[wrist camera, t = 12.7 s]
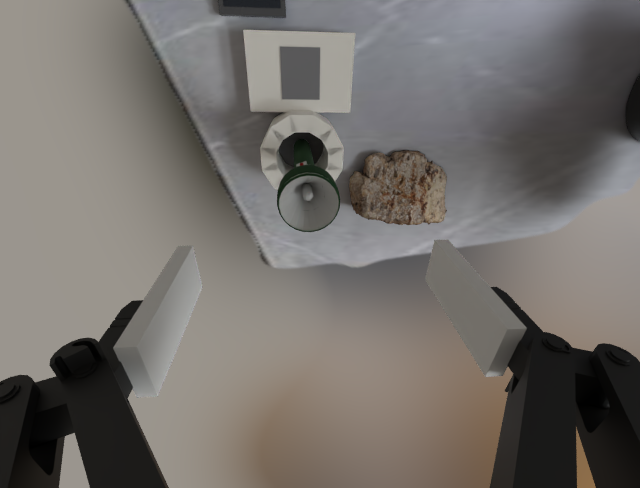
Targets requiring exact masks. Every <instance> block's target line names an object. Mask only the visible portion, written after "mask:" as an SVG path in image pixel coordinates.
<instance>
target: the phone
mask: <svg viewBox="0 0 640 488" xmlns="http://www.w3.org/2000/svg"><path fill="white" fill-rule="evenodd" d="M218 3H219V11H220V15H221V16H244V17H274V18H286V6H285V0H218Z"/></svg>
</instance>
